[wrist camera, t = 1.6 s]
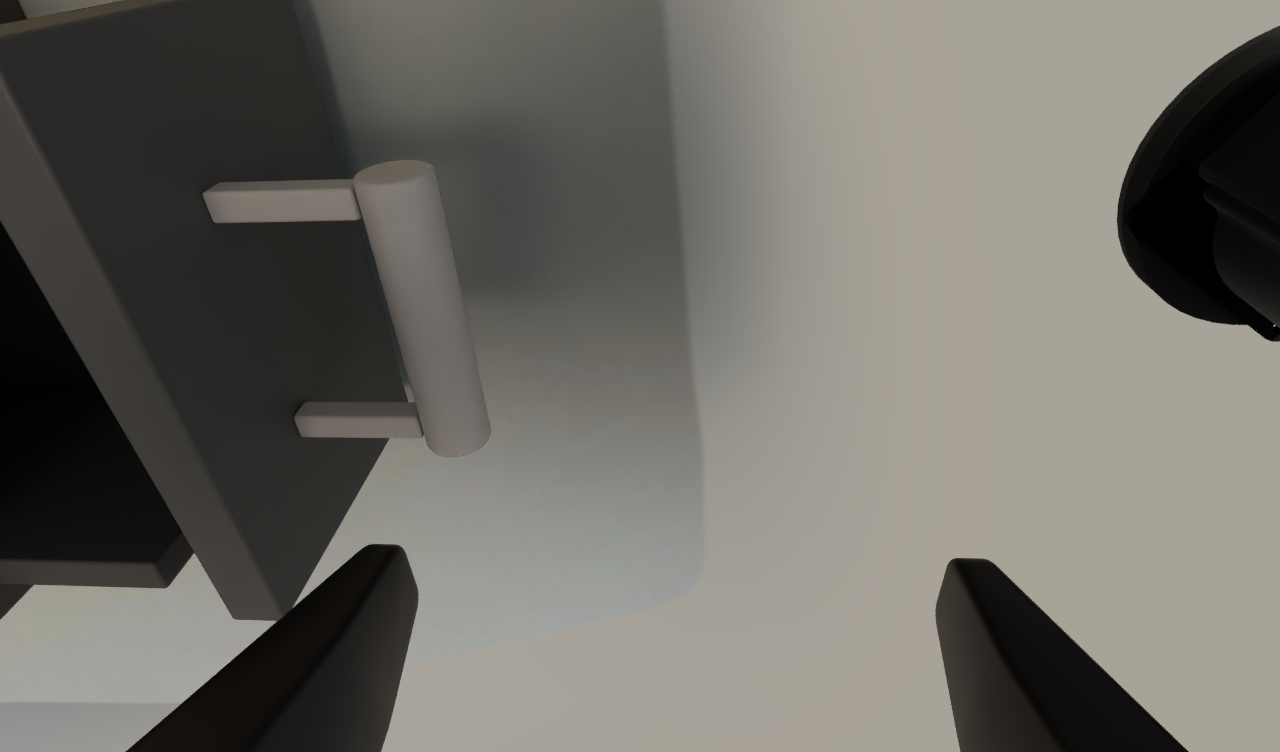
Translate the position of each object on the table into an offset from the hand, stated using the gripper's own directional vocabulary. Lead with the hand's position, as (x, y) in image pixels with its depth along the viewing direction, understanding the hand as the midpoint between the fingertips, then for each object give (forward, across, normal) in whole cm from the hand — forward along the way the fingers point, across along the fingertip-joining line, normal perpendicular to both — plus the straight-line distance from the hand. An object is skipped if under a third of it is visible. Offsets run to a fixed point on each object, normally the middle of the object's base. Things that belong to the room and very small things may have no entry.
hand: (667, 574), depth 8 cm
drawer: (+11, +13, 0) cm, 17 cm away
